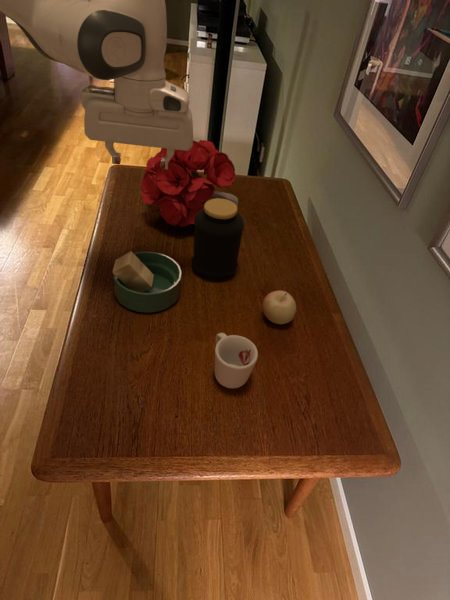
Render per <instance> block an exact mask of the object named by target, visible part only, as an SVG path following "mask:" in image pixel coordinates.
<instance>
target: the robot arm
mask: <svg viewBox="0 0 450 600" xmlns="http://www.w3.org/2000/svg"><path fill="white" fill-rule="evenodd" d="M0 13H1V14H3V15H4V16H5V17H7V18H9V19H10V20H11V21H13V22H14V24H16V26H17V27H18V28H19V29H20V31H22V33H23V34H24V35H25V36H26V38H27V39H28V41H29V42H30V43H31V45H32V46H33V47H34V49H35V50H37V52H38V53H39V54H40V55H42V56H43V57H45V58H46V59H49V60H51V61H54V62H57V63H60V64H63V65H65V66H67V67H69V68H71V69H74V70H76V71H78V72H80V73H82V74H84V75H87V76H89V77H91V78H93V79H96V80H100V81H111V80H113V87H112V86H111V87H110V86H98V85H94V84H90V85H89V84H88V86H86V87H84V88H83V89H82V90H81V92H80V101H81V102H80V103H81V106H82V108H83V109H84V115H83V116H84V118H83V119H84V120H83V124H84V125H83V127H84V129H83V131H84V135H85V137H87V139H88V140H90V141H95V142H103V143H104V147H105V149H106V150H107V152H108V154H109V155H110V156H111V164H112V165H121V163H122V157H121V156H122V155H121V152H117V150H116V149H115V146H114V144H122V145H132V146H141V147H149V148H158V149H161V148H166V149H167V156H166V157H165V158H162V157H161V166H160V169H167V170H168V162H169V161H170V159H171V158H172V156H173V155H174V150H183V151H189V150H190V149H191V148H192V146H193V140H194V122H193V121H194V120H193V114H192V111H191V109H190V107H189V105H190V95H189V92H188V91H187V90H186V89H184V88H182V87H180V86H177V85H176V84H174V83H171V82H169V81H168V80H166V76H167V75H166V68H165V64H164V63H165V62H164V61H165V54H166V51H167V43H168V42H167V41H168V40H167V39H168V22H167V21H168V20H167V17H168V16H167V5H166V0H0Z"/></svg>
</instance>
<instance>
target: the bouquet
mask: <svg viewBox="0 0 450 600" xmlns="http://www.w3.org/2000/svg"><path fill="white" fill-rule="evenodd" d="M166 156H167V149H166V148H160V151H158V152H157V153H156V154H155V155H154V156H153V157H152V156H151V157H150V158H148V159H147V161H146V165H145V173H144V174H143V177H142V180H141V182H140V189H141V193H140V195H141V199H142V200H143V202H144V204H145V205H147V206H148V205H150V206H151V205H154V204H155V205H156V210H157V211H158V212H159V214H160V216H161V217H162V218H163V220H164V221H165V222H166V223H167V224H169V225H171V226H173V227H176V226H179V227H180V228H183V227H187V226H189V225H195V224H194V218H195V216H196V214H197V213H198V212H199V211H200V210H202V209H204V205H205V203H206V202H207V201H208V200H211V199H216V198H219V199H226V200H229V201H232V202H233V203H235V204H236V206H237V207H238V206H239V205H238V204H239V198H238V197H237V196H235V195H234V194H232V193H228V192H222V191H215V189H216V188H215V187H218V188H220V189H222V190H224V189H223V187H224V188H227V187H230V186H232V185H234V183H235V179H236V169H235V165H234V163H233V162H232V160H231V159H230V158H229V155H228V154H227V153H225V152H223V151H219V150H218V149H217V148H216V145H215V144H214V142H213V141H210V140H206V139H204V140H202V139H200V140H198V141H196V140H194V139H193V146H192V148H191V149H190V150H189V151H183V150H174V155H173V156H172V158H171V159H170V161H169V162H168V170H167V169H160V166H161V157H162V158H165V157H166ZM199 171H201V172H202V171H203V173H200V174H199ZM202 175H204V176H205V175H206V178H205V177H204V176H202Z"/></svg>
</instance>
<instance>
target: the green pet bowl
mask: <svg viewBox="0 0 450 600" xmlns="http://www.w3.org/2000/svg"><path fill="white" fill-rule="evenodd" d="M132 253H133V254H134V255H135V256H136V257H137V258H138V259H139V260H140V261H141V262H142V263H143V264H144V265H145V266H146V267H147V268H148V269H149V270H150V271H151V272H152V274H153V275H154V276H153V283H152V288H150V289H148V290H146V291H144V292H142V293H141V292H136V291H133V290H130V289H129V288H128V287H127V286H126V285H125V284H124V283H123V282H122V281H121V280H120V279H119V278H118V277H117V276H115V275H114V274H113V273H112V284H113V293H114V297H115V299H116V300H117V301H118V303H119V304H120V305H122V306H123V307H125V308H126V309H127V310H132V311H134V312H136V313H149V314H150V313H156V312H157V313H158V312H161V311H164V310H167V309H169V308H170V307H172V305H174V304H176V302H177V301H178V299H179V298H180V295H181V284H182V274H183V273H182V272H183V271H182V269H181V266H180V265H179V263H178V262H177V261H176V260H175V258H172V257H170V256H169V255H166V254H164V253H160V252H156V251H136V252H132Z"/></svg>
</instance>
